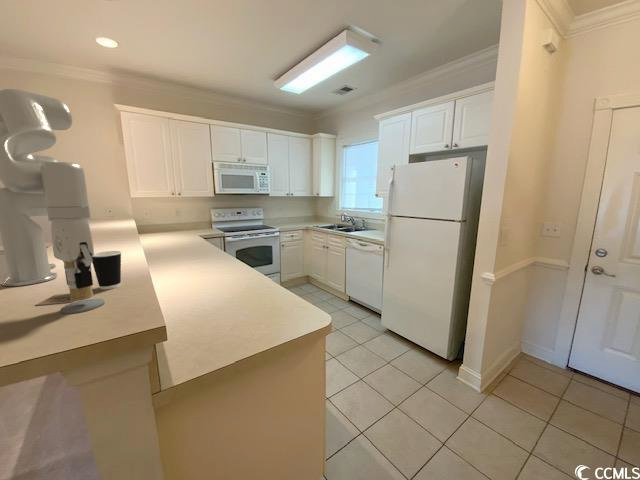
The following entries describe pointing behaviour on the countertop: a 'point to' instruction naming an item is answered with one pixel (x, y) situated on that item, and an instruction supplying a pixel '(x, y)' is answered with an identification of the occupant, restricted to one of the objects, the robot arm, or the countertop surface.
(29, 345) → the countertop surface
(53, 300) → the tile
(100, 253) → the dixie cup
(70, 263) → the sprinkles bottle
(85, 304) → the coaster
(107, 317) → the countertop surface
